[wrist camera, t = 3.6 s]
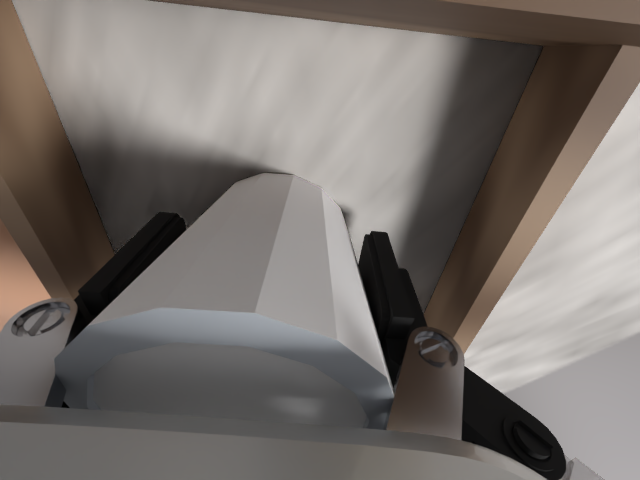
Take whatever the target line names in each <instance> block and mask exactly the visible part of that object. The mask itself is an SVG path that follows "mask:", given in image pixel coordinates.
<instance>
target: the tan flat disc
mask: <svg viewBox="0 0 640 480" xmlns="http://www.w3.org/2000/svg"><path fill="white" fill-rule="evenodd" d="M50 298H51V297H50V295H49V294H48V292H47V291H46V289H45V288H44V286H43V284H42V283H41V281H40V280H39V278H38V277H37V275H36V273H35V272H34V270H33V269H32V267H31V266H30V264H29V263H28V261H27V259H26V258H25V256H24V255H23V253H22V252H21V250H20V248H19V247H18V245H17V244H16V242H15V241H14V239H13V238H12V236H11V234H10V233H9V231H8V230H7V228H6V227H5V225H4V223H3V222H2V220H1V219H0V332H1V331H2V329H3V327H4V325H5V324H6V323H7V322H8V320H9V319H10V318H11V317H13V316H14V315H15V314H16V313H18V312H19V311H21V310H22V309H24V308H26V307H28V306H29V305H32V304H34V303H37V302H39V301H43V300H47V299H50Z"/></svg>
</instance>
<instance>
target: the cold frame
mask: <svg viewBox="0 0 640 480" xmlns="http://www.w3.org/2000/svg"><path fill="white" fill-rule="evenodd" d="M150 1H158V2H167V3H176V4H184V5H193V6H202V7H210V8H219V9H228V10H236V11H245V12H254V13H263V14H271V15H280V16H289V17H297V18H306V19H315V20H323V21H332V22H341V23H349V24H358V25H367V26H375V27H384V28H393V29H401V30H410V31H419V32H427V33H436V34H445V35H453V36H462V37H471V38H479V39H488V40H497V41H506V42H514V43H523V44H532V45H540V46H544V47H543V49H542V52H541V54H540V56H539V58H538V61H537V63H536V65H535V67H534V70H533V72H532V74H531V76H530V78H529V81H528V83H527V85H526V87H525V90H524V92H523V94H522V96H521V99H520V101H519V103H518V105H517V107H516V110H515V112H514V114H513V116H512V119H511V121H510V123H509V125H508V128H507V130H506V132H505V134H504V136H503V139H502V141H501V143H500V145H499V148H498V150H497V152H496V154H495V156H494V159H493V161H492V163H491V165H490V168H489V170H488V172H487V174H486V177H485V179H484V181H483V183H482V185H481V188H480V190H479V192H478V194H477V197H476V199H475V201H474V203H473V206H472V208H471V210H470V212H469V214H468V217H467V219H466V221H465V223H464V226H463V228H462V230H461V232H460V235H459V237H458V239H457V241H456V243H455V246H454V248H453V250H452V252H451V255H450V257H449V259H448V261H447V264H446V266H445V268H444V270H443V272H442V275H441V277H440V279H439V281H438V284H437V286H436V288H435V290H434V293H433V295H432V297H431V299H430V301H429V304H428V306H427V308H426V310H425V313H424V318H425V321H426V323H427V326H428V327H433V328H436V329H439V330H441V331H443V332H445V333H447V334H448V335H450V336H451V337H452V338H453V339H454V340H455V341H456V342H457V343H458V344H459V346H460V348H461V350H462V352H463V354H464V353H465V352H466V350H467V349H468V347H469V345H470V344H471V342H472V341H473V339H474V338H475V336H476V335H477V333H478V331H479V330H480V328H481V327H482V325H483V324H484V322H485V321H486V319H487V318H488V316H489V314H490V313H491V311H492V310H493V308H494V307H495V305H496V304H497V302H498V301H499V299H500V297H501V296H502V294H503V293H504V291H505V290H506V288H507V287H508V285H509V284H510V282H511V280H512V279H513V277H514V276H515V274H516V273H517V271H518V270H519V268H520V267H521V265H522V263H523V262H524V260H525V259H526V257H527V256H528V254H529V253H530V251H531V250H532V248H533V246H534V245H535V243H536V242H537V240H538V239H539V237H540V236H541V234H542V232H543V231H544V229H545V228H546V226H547V225H548V223H549V222H550V220H551V219H552V217H553V215H554V214H555V212H556V211H557V209H558V208H559V206H560V205H561V203H562V202H563V200H564V198H565V197H566V195H567V194H568V192H569V191H570V189H571V188H572V186H573V185H574V183H575V181H576V180H577V178H578V177H579V175H580V174H581V172H582V171H583V169H584V168H585V166H586V164H587V163H588V161H589V160H590V158H591V157H592V155H593V154H594V152H595V150H596V149H597V147H598V146H599V144H600V143H601V141H602V140H603V138H604V137H605V135H606V133H607V132H608V130H609V129H610V127H611V126H612V124H613V123H614V121H615V120H616V118H617V116H618V115H619V113H620V112H621V110H622V109H623V107H624V106H625V104H626V103H627V101H628V99H629V98H630V96H631V95H632V93H633V92H634V90H635V89H636V87H637V86H638V84H639V82H640V0H150ZM0 219H1V220H2V222H3V223H4V225H5V227H6V228H7V230H8V231H9V233H10V234H11V236H12V238H13V239H14V241H15V242H16V244H17V245H18V247H19V248H20V250H21V252H22V253H23V255H24V256H25V258H26V259H27V261H28V263H29V264H30V266H31V267H32V269H33V270H34V272H35V273H36V275H37V277H38V278H39V280H40V281H41V283H42V284H43V286H44V288H45V289H46V291H47V292H48V294H49V295H50V297H51V298H60V297H62V298H69V299H71V300H74V299H75V298H76V297H77V296H78V295H79V293H78V290H79V289H80V288H81V287H82V286H83V285H84V284H85V283H86V282H87V281H88V280H89V279H91V278H92V277H93V276H94V275H95V274H96V273H97V272H98V271H99V270H100V269H101V268H102V267H103V266H104V265H105V264H106V263H107V262H108V261H109V260H110V259H111V258H112V257H113V256H114V255H115V254H114V251H113V249H112V246H111V244H110V242H109V239H108V237H107V234H106V232H105V229H104V227H103V224H102V222H101V219H100V217H99V214H98V212H97V210H96V207H95V205H94V202H93V200H92V197H91V195H90V192H89V190H88V187H87V185H86V182H85V180H84V178H83V175H82V173H81V170H80V168H79V165H78V163H77V160H76V158H75V155H74V153H73V150H72V148H71V146H70V143H69V141H68V138H67V136H66V133H65V131H64V128H63V126H62V123H61V121H60V119H59V116H58V114H57V111H56V109H55V106H54V104H53V101H52V99H51V96H50V94H49V91H48V89H47V87H46V84H45V82H44V79H43V77H42V74H41V72H40V69H39V67H38V64H37V62H36V59H35V57H34V55H33V52H32V50H31V47H30V45H29V42H28V40H27V37H26V35H25V32H24V30H23V28H22V25H21V23H20V20H19V18H18V15H17V13H16V10H15V8H14V5H13V3H12V0H0Z"/></svg>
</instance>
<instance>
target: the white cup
mask: <svg viewBox="0 0 640 480" xmlns="http://www.w3.org/2000/svg"><path fill="white" fill-rule="evenodd" d="M54 364H55V373H56V375H57V376H58V378H59V379H60V381H61V383H62V384H63V386H64V387H65V389H66V394H65V397H64V400H63V401H64V402H65V403H66V404H67V405H68V406H69V407H70V408H75V409H91V410H107V411H123V412H139V413H154V414H170V415H185V416H200V417H215V418H229V419H244V420H259V421H273V422H287V423H301V424H314V425H328V426H342V427H356V428H367V429H378V430H383V428H384V424H385V420H386V416H387V412H388V410H389V408H390V406H391V403H392V401H393V399H394V391H393V386H392V382H391V379H390V375H389V372H388V368H387V365H386V361H385V358H384V354H383V351H382V347H381V344H380V340H379V337H378V334H377V330H376V326H375V323H374V319H373V316H372V312H371V309H370V305H369V302H368V298H367V295H366V291H365V288H364V284H363V281H362V277H361V274H360V270H359V267H358V263H357V260H356V256H355V253H354V249H353V246H352V242H351V239H350V235H349V232H348V229H347V226H346V223H345V220H344V217H343V214H342V211H341V208H340V207H339V206H338V205H337V204H336V203H335V202H334V200H333V199H332V198H331V197H330V196H329V195H328V194H327V193H326V192H325V191H324V190H323V189H322V188H321V187H319V186H317V185H315V184H313V183H310V182H308V181H306V180H304V179H302V178H300V177H297V176H295V175H289V174H273V173H261V174H258V175H255V176H252V177H249V178H246V179H243V180H241V181H238V182H236V183H234V184H233V185H232V186H231V187H230V188H229V189H228V190H227V191H226V192H225V193H224V194H223V195H222V196H221V197H220V198H219V199H218V200H217V201H216V202H215V203H214V204H213V205H212V206H211V207H210V208H209V209H208V210H207V211H206V212H205V213H203V214H202V215H201V216H200V217H199V218H198V219H197V220H196V221H195V222H194V223H193V224H192V225H191V226H190V227H189V228H188V229H187V230H186V231H185V232H184V233H183V234H182V235H181V236H180V237H179V238H178V239H177V240H176V241H175V242H174V243H172V244H171V245H170V246H169V247H168V248H167V249H166V250H165V251H164V252H163V253H162V254H161V255H160V256H159V257H158V258H157V259H156V260H155V261H154V262H153V263H152V264H151V265H150V266H149V267H148V268H147V269H146V270H145V271H144V272H143V273H141V274H140V275H139V276H138V277H137V278H136V279H135V280H134V281H133V282H132V283H131V284H130V285H129V286H128V287H127V288H126V289H125V290H124V291H123V292H122V293H121V294H120V295H119V296H118V297H117V298H116V299H115V300H114V301H113V302H112V303H110V304H109V305H108V306H107V307H106V308H105V309H104V310H103V311H102V312H101V313H100V314H99V315H98V316H97V317H96V318H95V319H94V320H93V321H92V322H91V323H90V324H89V325H88V326H87V327H86V328H85V329H84V330H83V331H82V332H81V333H80V334H79V335H78V336H77V337H76V338H75V339H74V340H73V341H72V342H70V343H69V344H68V345H67V346H66V347H65V348H64V349H63V350H62V351H61V352H60V353H59V354H58V355H57V356H56V357H55V358H54Z"/></svg>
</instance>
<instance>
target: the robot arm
mask: <svg viewBox="0 0 640 480" xmlns="http://www.w3.org/2000/svg"><path fill="white" fill-rule="evenodd" d="M185 231H186V225H185V221H184V219H183V218H180V216H179V215H178V214H177V213H167V212H159V213H158V214H157V215H156V216H154V217H153V218H152V219H151V220H150V221H149V222H148V223H147V224H146V225H145V226H144V227H143V228H142V229H141V230H140V231H139V232H138V233H137V234H136V235H135V236H134V237H133V238H132V239H131V240H130V241H129V242H128V243H127V244H126V245H125V246H124V247H122V248H121V249H120V250H119V251H118V252H117V253H116V254H115V255H114V256H113V257H112V258H111V259H110V260H109V261H108V262H107V263H106V264H105V265H104V266H103V267H102V268H101V269H100V270H99V271H98V272H97V273H96V274H95V275H94V276H93V277H92V278H91V279H89V280H88V281H87V282H86V283H85V284H84V285H83V286H82V287H81V288H80V289H79V290H78V293H79V295H78V296H77V297H76V298H75V299H74V300H71V299H69V298H62V297H60V298H50V299H47V300H43V301H39V302H37V303H34V304H32V305H29V306H28V307H26V308H24V309H22V310H21V311H19V312H18V313H16V314H15V315H14V316H13V317H11V318H10V319H9V320H8V322H7V323H6V324H5V325H4V327H3V329H2V331H1V332H0V480H604V479H603V478H601V477H600V476H599V475H598V474H596V473H595V472H594V471H592V470H591V469H590V468H589V467H587V466H586V465H585V464H583V463H582V462H581V461H579V460H578V459H577V458H574V459H572V460H570V459H569V458H568V457H566V456H565V455H564V453H563V450H562V448H561V446H560V444H559V443H558V441H557V439H556V438H555V437H554V435H553V434H552V433H551V432H550V431H549V429H548V428H547V427H546V426H544V425H543V424H542V423H541V422H540V421H539V420H538V419H536V418H535V417H534V416H532V415H531V414H530V413H528V412H527V411H525V410H524V409H523V408H521V407H520V406H519V405H517V404H516V403H515V402H513V401H512V400H510V399H509V398H508V397H506V396H505V395H504V394H502V393H501V392H500V391H498V390H497V389H495V388H494V387H493V386H491V385H490V384H489V383H487V382H486V381H484V380H483V379H482V378H480V377H479V376H478V375H476V374H475V373H474V372H472V371H471V370H469V369H468V368H467V367H465V366H464V354H463V352H462V350H461V348H460V346H459V344H458V343H457V342H456V341H455V340H454V339H453V338H452V337H451V336H450V335H448V334H447V333H445V332H443V331H441V330H439V329H436V328H433V327H428V326H427V323H426V321H425V318H424V315H423V312H422V309H421V307H420V304H419V301H418V298H417V295H416V293H415V290H414V287H413V284H412V282H411V279H410V276H409V273H408V271H407V270H406V269H401V268H398V265H397V262H396V259H395V256H394V253H393V249H392V246H391V243H390V240H389V237H388V234H387V233H386V232H376V231H371V233H370V235H367V234H366V235H365V237H364V241H363V246H362V250H361V255H360V259H359V264H358V267H359V270H360V274H361V277H362V281H363V284H364V288H365V291H366V295H367V298H368V302H369V305H370V309H371V312H372V316H373V319H374V323H375V326H376V330H377V334H378V337H379V340H380V344H381V347H382V351H383V354H384V358H385V361H386V365H387V368H388V372H389V375H390V379H391V382H392V386H393V391H394V399H393V401H392V403H391V406H390V408H389V410H388V412H387V416H386V420H385V424H384V428H383V430H378V429H367V428H356V427H342V426H328V425H314V424H301V423H287V422H273V421H259V420H244V419H229V418H215V417H200V416H185V415H170V414H154V413H139V412H123V411H107V410H91V409H75V408H70V407H69V406H68V405H67V404H66V403H65V402H64V401H63V400H64V397H65V394H66V389H65V387H64V386H63V384H62V383H61V381H60V379H59V378H58V376H57V375H56V373H55V364H54V358H55V357H56V356H57V355H58V354H59V353H60V352H61V351H62V350H63V349H64V348H65V347H66V346H67V345H68V344H69V343H70V342H72V341H73V340H74V339H75V338H76V337H77V336H78V335H79V334H80V333H81V332H82V331H83V330H84V329H85V328H86V327H87V326H88V325H89V324H90V323H91V322H92V321H93V320H94V319H95V318H96V317H97V316H98V315H99V314H100V313H101V312H102V311H103V310H104V309H105V308H106V307H107V306H108V305H109V304H110V303H112V302H113V301H114V300H115V299H116V298H117V297H118V296H119V295H120V294H121V293H122V292H123V291H124V290H125V289H126V288H127V287H128V286H129V285H130V284H131V283H132V282H133V281H134V280H135V279H136V278H137V277H138V276H139V275H140V274H141V273H143V272H144V271H145V270H146V269H147V268H148V267H149V266H150V265H151V264H152V263H153V262H154V261H155V260H156V259H157V258H158V257H159V256H160V255H161V254H162V253H163V252H164V251H165V250H166V249H167V248H168V247H169V246H170V245H171V244H172V243H174V242H175V241H176V240H177V239H178V238H179V237H180V236H181V235H182V234H183V233H184V232H185Z"/></svg>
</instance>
